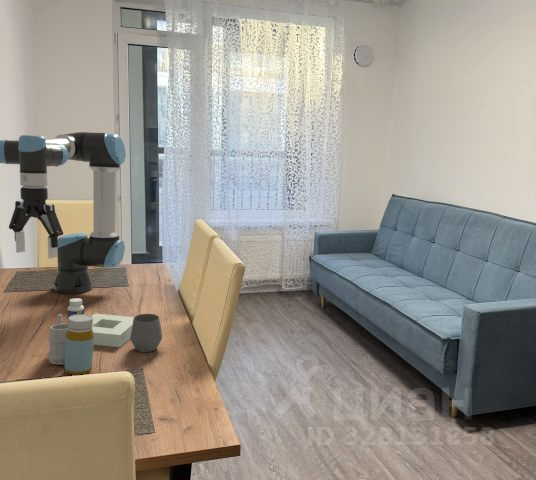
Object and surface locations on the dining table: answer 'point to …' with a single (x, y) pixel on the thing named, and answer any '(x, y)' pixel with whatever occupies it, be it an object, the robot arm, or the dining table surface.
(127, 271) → the dining table surface
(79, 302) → the pill bottle
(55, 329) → the mug
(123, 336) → the socket block
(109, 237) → the robot arm
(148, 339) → the cup
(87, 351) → the bottle
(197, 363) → the dining table surface
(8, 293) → the dining table surface
